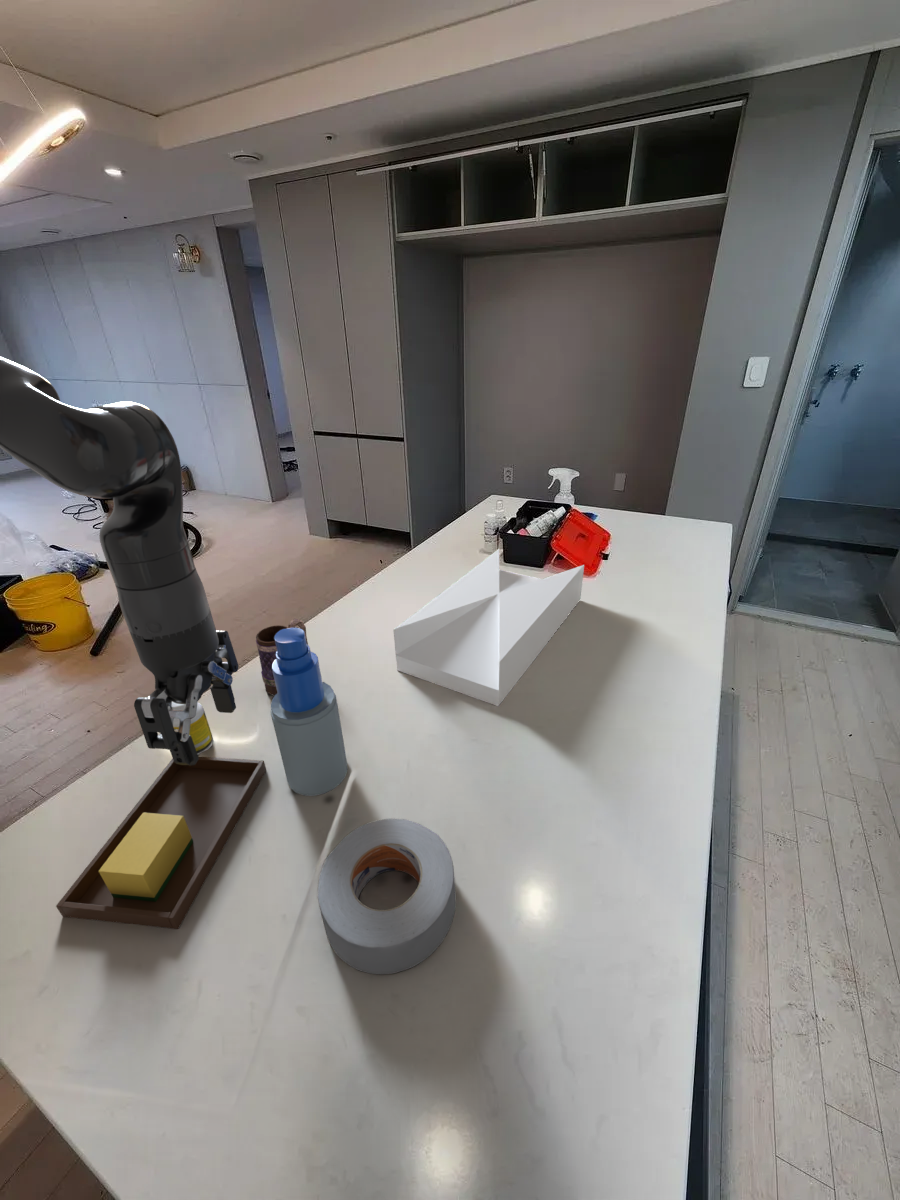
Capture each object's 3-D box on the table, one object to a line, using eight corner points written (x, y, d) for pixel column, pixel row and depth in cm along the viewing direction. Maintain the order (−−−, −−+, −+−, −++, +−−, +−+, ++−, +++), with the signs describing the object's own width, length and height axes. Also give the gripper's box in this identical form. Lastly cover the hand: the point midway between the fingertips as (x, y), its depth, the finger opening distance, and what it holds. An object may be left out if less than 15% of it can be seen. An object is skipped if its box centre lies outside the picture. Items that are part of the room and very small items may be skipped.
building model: (498, 706, 90) (499, 661, 85) (397, 670, 100) (393, 628, 95) (580, 600, 123) (584, 564, 119) (498, 581, 134) (499, 547, 129)
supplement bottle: (221, 742, 83) (206, 694, 79) (191, 763, 79) (173, 715, 75) (200, 730, 86) (185, 684, 81) (170, 750, 82) (152, 703, 77)
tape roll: (298, 902, 60) (290, 875, 57) (398, 822, 69) (396, 796, 67) (378, 1011, 50) (373, 984, 47) (482, 901, 59) (483, 874, 57)
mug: (280, 702, 92) (267, 647, 86) (257, 688, 96) (243, 634, 90) (324, 675, 99) (315, 622, 93) (301, 662, 103) (291, 611, 97)
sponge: (112, 897, 60) (98, 871, 58) (154, 838, 67) (143, 812, 65) (156, 902, 59) (143, 875, 57) (193, 841, 66) (183, 815, 64)
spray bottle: (275, 783, 75) (237, 641, 64) (317, 745, 82) (290, 610, 70) (319, 808, 71) (288, 661, 60) (360, 766, 78) (339, 626, 66)
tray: (64, 919, 58) (55, 906, 57) (180, 767, 79) (175, 754, 78) (179, 932, 57) (173, 918, 56) (267, 773, 77) (264, 760, 76)
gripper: (175, 582, 58) (210, 695, 66) (83, 652, 46) (139, 781, 53) (237, 584, 57) (265, 697, 65) (161, 655, 45) (207, 786, 53)
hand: (209, 735), depth 59 cm, fingers open, 8 cm apart
